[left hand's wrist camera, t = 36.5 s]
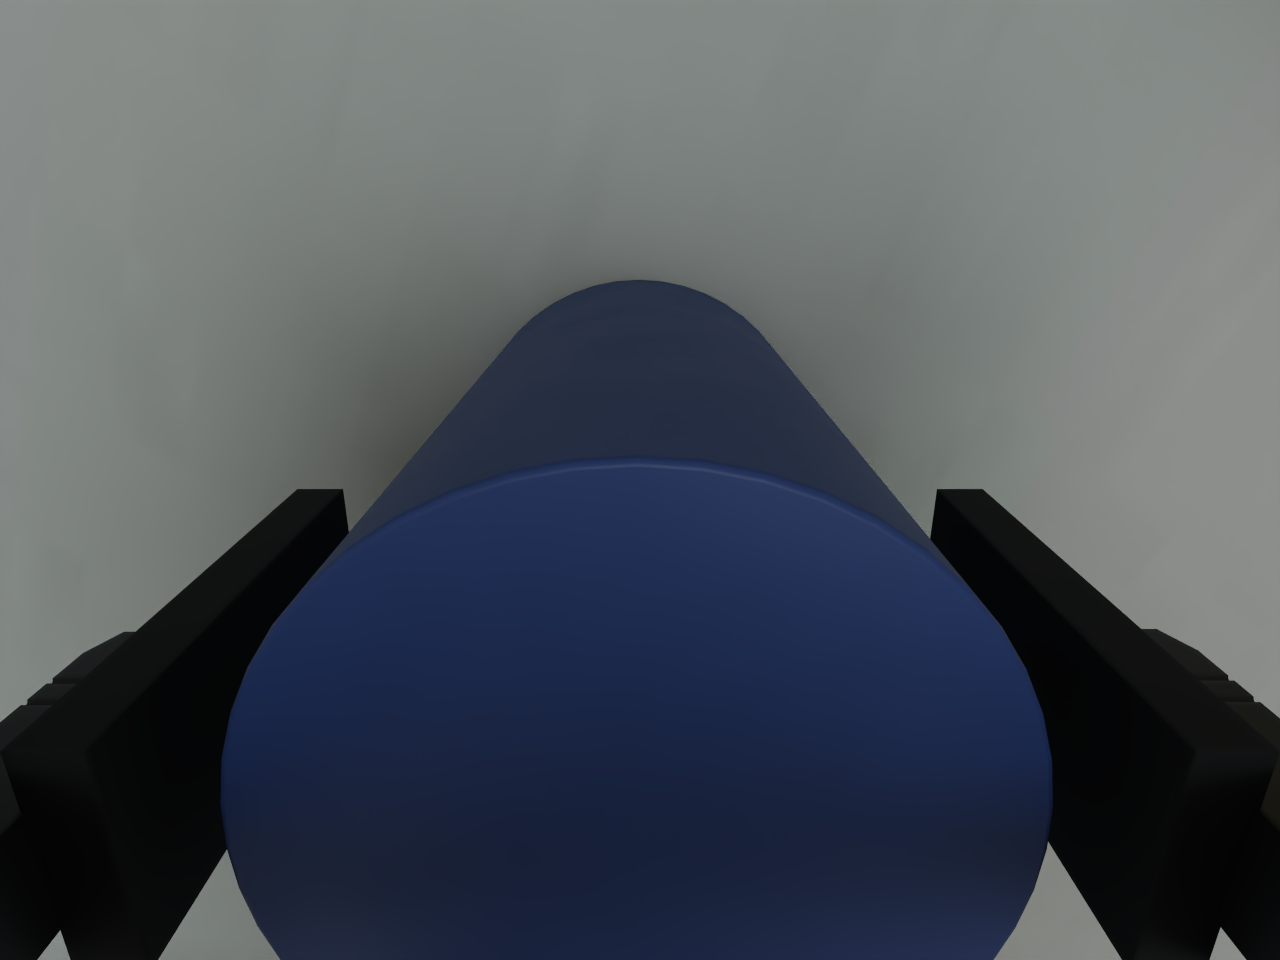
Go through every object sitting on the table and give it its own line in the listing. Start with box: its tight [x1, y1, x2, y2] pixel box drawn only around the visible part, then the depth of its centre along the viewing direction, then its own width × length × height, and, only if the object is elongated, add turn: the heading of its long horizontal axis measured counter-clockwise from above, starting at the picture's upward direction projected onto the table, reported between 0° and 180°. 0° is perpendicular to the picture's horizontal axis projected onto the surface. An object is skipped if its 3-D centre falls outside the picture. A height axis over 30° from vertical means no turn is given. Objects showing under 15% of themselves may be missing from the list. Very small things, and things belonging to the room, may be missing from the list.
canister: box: [220, 280, 1053, 960], centre depth 14 cm, size 8×8×13 cm
